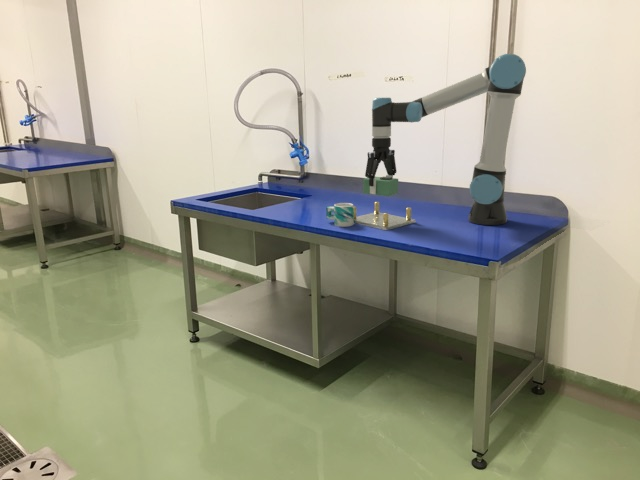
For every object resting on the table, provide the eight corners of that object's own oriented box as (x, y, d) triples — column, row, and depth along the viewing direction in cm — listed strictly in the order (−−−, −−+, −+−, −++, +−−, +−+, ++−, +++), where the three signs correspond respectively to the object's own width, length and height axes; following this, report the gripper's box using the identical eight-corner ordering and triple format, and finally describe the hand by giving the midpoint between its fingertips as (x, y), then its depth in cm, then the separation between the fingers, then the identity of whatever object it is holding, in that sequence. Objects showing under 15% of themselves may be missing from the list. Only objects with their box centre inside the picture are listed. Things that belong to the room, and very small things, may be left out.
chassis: (415, 222, 222) (415, 207, 220) (386, 230, 210) (386, 215, 209) (376, 214, 238) (376, 200, 236) (347, 221, 227) (347, 207, 225)
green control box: (397, 193, 221) (398, 176, 219) (388, 196, 215) (389, 179, 213) (372, 190, 228) (372, 174, 226) (363, 193, 221) (363, 176, 219)
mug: (346, 227, 217) (345, 207, 215) (322, 223, 224) (322, 204, 222) (357, 223, 223) (357, 203, 221) (334, 220, 230) (333, 200, 228)
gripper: (392, 134, 224) (391, 187, 230) (355, 138, 211) (355, 194, 217) (406, 135, 219) (405, 189, 225) (369, 139, 205) (369, 197, 211)
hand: (380, 192), depth 221 cm, fingers closed on green control box, 9 cm apart
